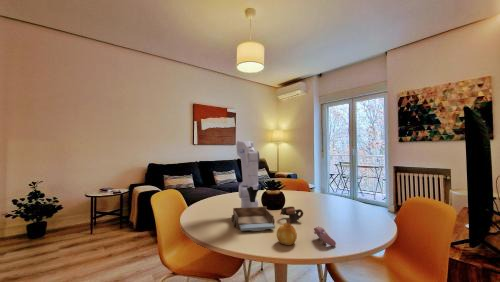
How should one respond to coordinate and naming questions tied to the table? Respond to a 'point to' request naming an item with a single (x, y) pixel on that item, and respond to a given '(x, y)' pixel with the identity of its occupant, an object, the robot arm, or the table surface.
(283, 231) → the fruit
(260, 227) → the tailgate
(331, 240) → the pink animal figurine
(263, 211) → the cart bed
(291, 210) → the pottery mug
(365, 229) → the table surface
